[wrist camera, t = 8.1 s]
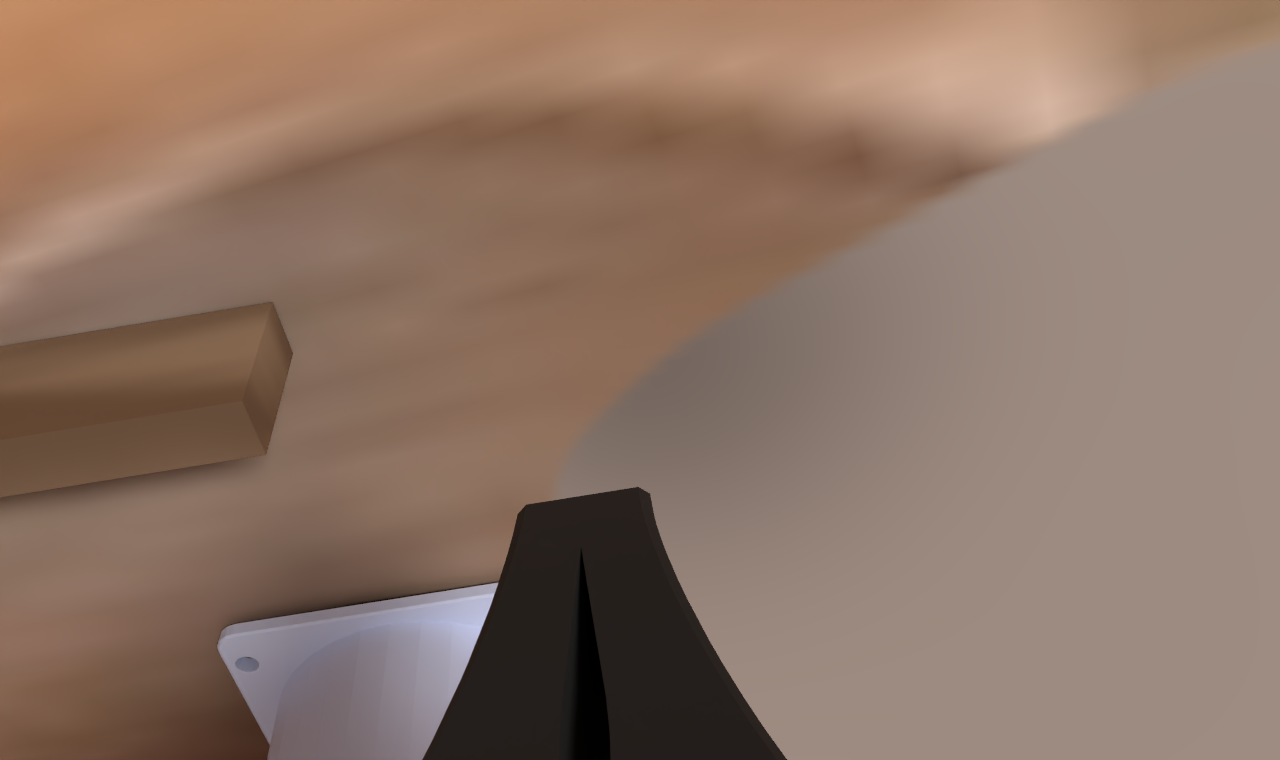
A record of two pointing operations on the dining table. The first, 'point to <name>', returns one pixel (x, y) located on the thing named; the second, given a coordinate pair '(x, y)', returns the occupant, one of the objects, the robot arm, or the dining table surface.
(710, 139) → the dining table surface
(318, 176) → the dining table surface
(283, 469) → the dining table surface
